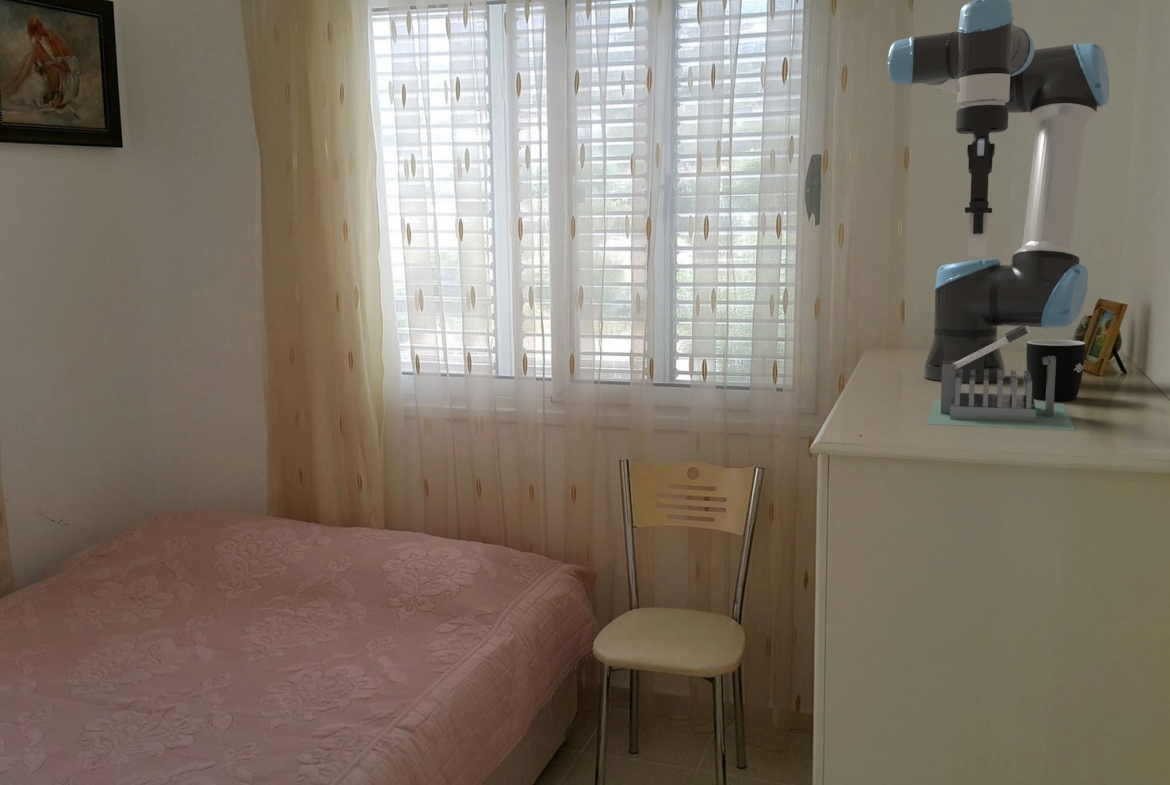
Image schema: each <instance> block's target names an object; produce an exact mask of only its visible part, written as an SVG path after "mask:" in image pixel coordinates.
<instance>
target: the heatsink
mask: <svg viewBox="0 0 1170 785" xmlns="http://www.w3.org/2000/svg"><path fill="white" fill-rule="evenodd" d="M955 362H957V361H943V364H942V381H940V382H941V383H940V384H941V385H940V386H941V387H940V390H941V391H940V399H941V414H950V419H957V420H981V421H1006V422H1030V423H1035V422H1036V407H1035V404H1034V403H1035V399H1033V396H1032V379H1031V376H1030V372H1029V371H1027V370H1024V371H1023V372H1024V373H1023V394H1018V383H1019V382H1018V377H1017V372H1016V369H1015V370H1013V369H1011V370H1010V381H1009V382H1010V384H1009V394H1007V393H1003V392H1004V379H1003V375H1002V370H997V381H996V391H995V392H996V393H989V383H990V382H989V370H984V382H983V385H982V386H983V387H982V388H983V389H982V393H976V382H975V369H971V373H970V382H968V383H969V386H968V388H969V389H968V392H963V391H962V390H963V389H962V388H963V382H962V369H958V371H957V375H956V364H953V363H955ZM1042 362H1043V365H1047V383H1046V401H1045V403H1046V404H1045V415H1046V417H1053V413H1054V403H1055V402H1054V391H1055V370H1056V357H1055V356H1048V357H1043V361H1042Z"/></svg>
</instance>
